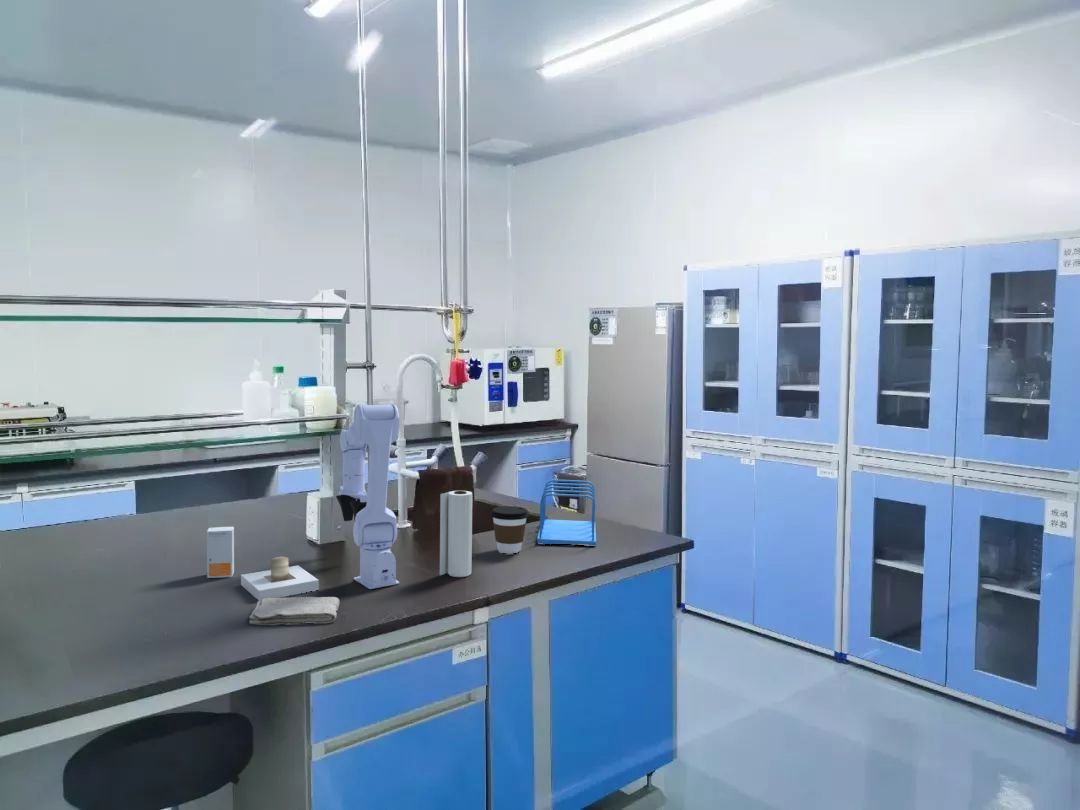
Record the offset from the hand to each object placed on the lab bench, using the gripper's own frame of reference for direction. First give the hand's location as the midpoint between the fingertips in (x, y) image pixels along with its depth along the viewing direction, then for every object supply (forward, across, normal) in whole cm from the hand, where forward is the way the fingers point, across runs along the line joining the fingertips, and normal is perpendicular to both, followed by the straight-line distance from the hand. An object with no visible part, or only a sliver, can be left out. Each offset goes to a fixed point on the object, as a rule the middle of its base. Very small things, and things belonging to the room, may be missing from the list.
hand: (353, 523), depth 215 cm
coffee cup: (+10, +18, +39) cm, 44 cm away
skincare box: (+10, -3, -34) cm, 35 cm away
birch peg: (+9, +14, -25) cm, 30 cm away
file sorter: (+10, +13, +64) cm, 66 cm away
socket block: (+9, +14, -25) cm, 30 cm away
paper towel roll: (+10, +28, +16) cm, 34 cm away
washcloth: (+10, +34, -28) cm, 45 cm away
